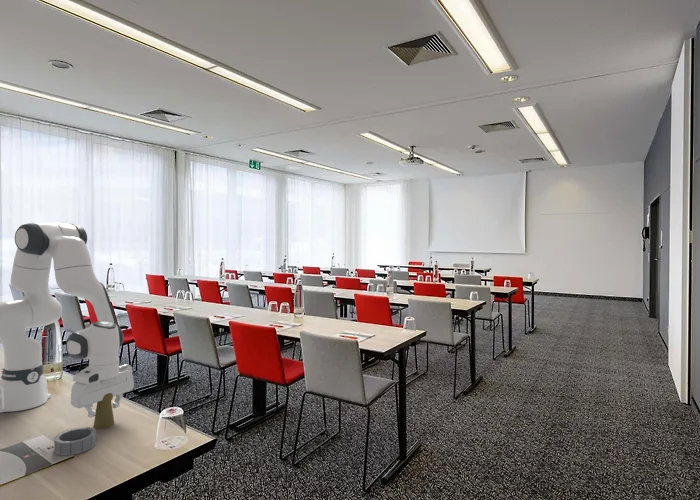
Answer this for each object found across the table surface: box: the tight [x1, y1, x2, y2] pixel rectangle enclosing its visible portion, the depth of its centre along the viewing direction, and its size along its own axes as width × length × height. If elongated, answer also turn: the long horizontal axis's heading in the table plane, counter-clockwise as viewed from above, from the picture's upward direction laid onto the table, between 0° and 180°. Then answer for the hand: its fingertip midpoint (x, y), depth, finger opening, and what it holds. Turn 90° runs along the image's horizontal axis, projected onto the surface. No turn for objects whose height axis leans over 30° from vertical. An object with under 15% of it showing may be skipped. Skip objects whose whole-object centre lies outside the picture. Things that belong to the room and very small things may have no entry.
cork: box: [93, 393, 115, 429], centre depth 144 cm, size 6×6×11 cm
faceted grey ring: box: [53, 426, 97, 457], centre depth 128 cm, size 10×10×4 cm
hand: (104, 411), depth 144 cm, fingers open, 7 cm apart
